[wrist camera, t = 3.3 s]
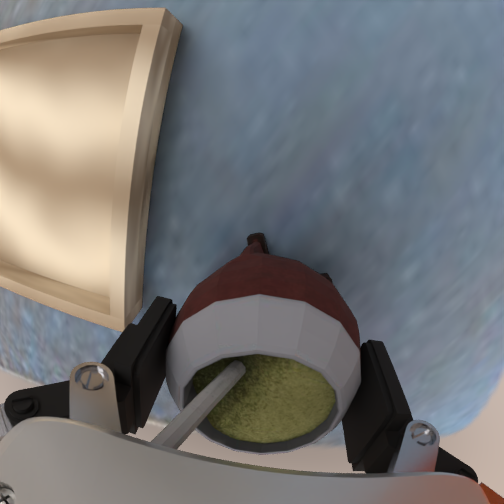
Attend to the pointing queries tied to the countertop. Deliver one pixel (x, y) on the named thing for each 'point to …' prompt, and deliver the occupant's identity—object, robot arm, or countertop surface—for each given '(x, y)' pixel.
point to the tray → (81, 157)
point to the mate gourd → (261, 356)
